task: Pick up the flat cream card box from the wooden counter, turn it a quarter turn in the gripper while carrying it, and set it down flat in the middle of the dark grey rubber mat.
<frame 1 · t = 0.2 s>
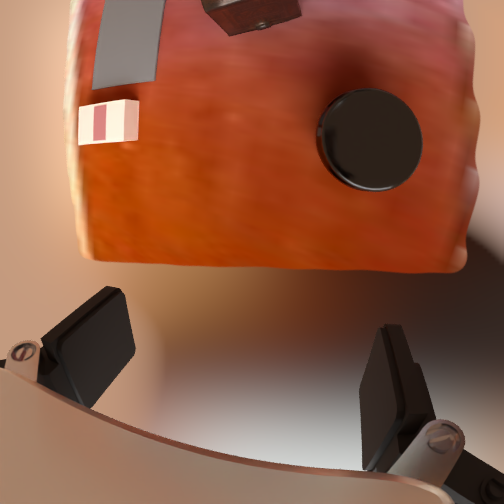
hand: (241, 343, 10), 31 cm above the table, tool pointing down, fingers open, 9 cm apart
supplement container: (357, 140, 35), on the table
mat: (128, 33, 35), on the table
card box: (115, 122, 41), on the table
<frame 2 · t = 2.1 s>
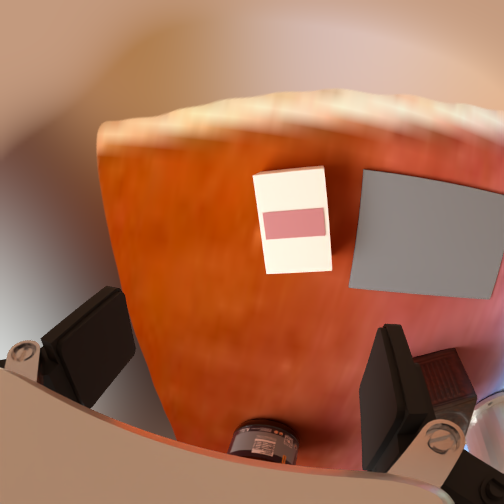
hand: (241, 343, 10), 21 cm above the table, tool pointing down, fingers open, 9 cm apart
supplement container: (267, 434, 42), on the table
mat: (438, 240, 27), on the table
card box: (297, 213, 30), on the table
vintage coffee grinder: (414, 395, 34), on the table
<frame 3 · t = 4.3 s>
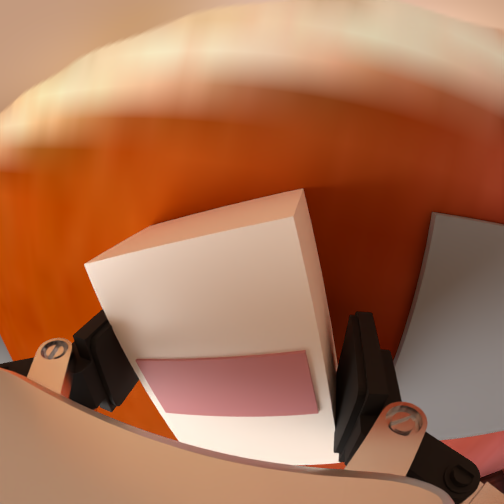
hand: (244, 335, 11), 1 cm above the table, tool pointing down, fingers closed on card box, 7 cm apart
card box: (252, 318, 12), on the table, touching gripper
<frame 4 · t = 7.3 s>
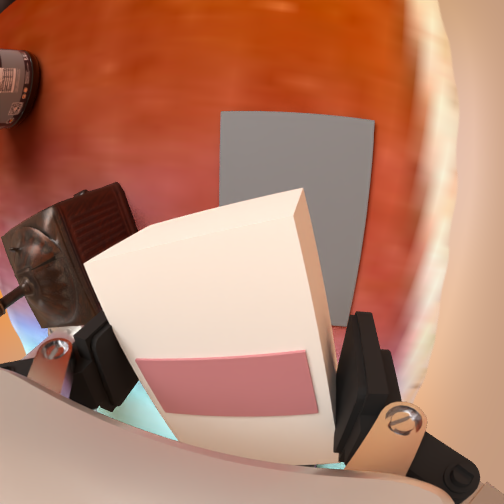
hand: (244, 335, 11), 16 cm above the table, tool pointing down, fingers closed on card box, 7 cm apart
supplement container: (21, 88, 26), on the table
mat: (291, 223, 25), on the table
card box: (252, 317, 12), point 14 cm above the table, touching gripper
vintage coffee grinder: (88, 243, 31), on the table
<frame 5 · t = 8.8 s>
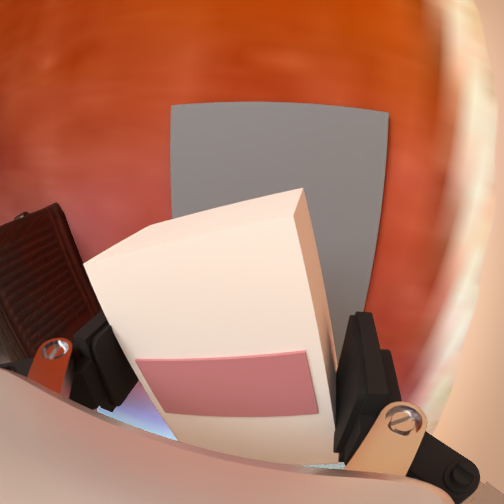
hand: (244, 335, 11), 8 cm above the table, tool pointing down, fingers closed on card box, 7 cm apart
mat: (270, 259, 18), on the table
card box: (252, 318, 12), point 7 cm above the table, touching gripper
vintage coffee grinder: (36, 273, 24), on the table
when the fingers open (3 cm above the table, at t = 10.3 s): card box drops 1 cm, resting on mat.
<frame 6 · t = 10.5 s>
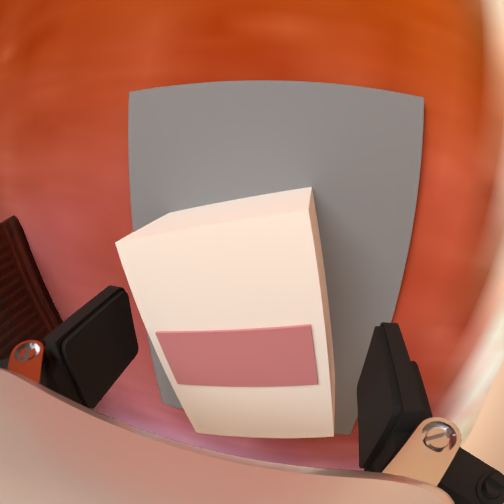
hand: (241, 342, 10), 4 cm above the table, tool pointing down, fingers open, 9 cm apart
mat: (260, 295, 14), on the table
card box: (258, 301, 13), resting on mat
vintage coffee grinder: (4, 291, 19), on the table
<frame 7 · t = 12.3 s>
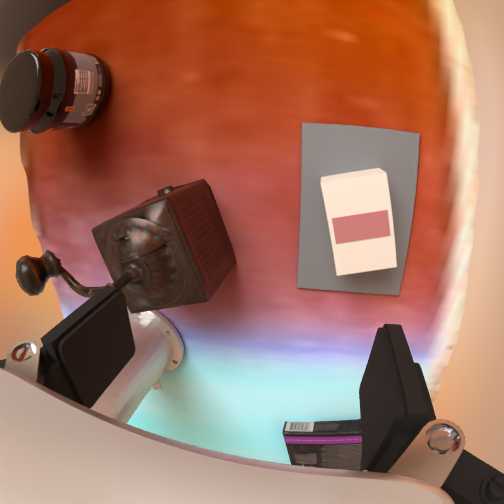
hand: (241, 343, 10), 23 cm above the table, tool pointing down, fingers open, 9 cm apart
box: (328, 446, 47), on the table
supplement container: (85, 90, 32), on the table
mat: (357, 213, 30), on the table
card box: (357, 215, 30), resting on mat
vintage coffee grinder: (168, 234, 37), on the table
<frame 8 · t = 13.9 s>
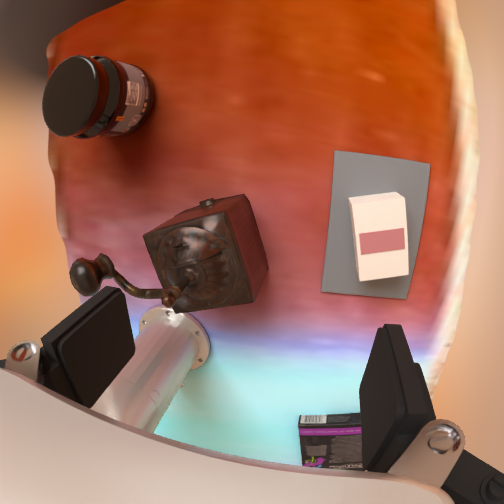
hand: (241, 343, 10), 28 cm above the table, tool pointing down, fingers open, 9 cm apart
box: (336, 439, 51), on the table
supplement container: (126, 100, 36), on the table
mat: (376, 229, 35), on the table
card box: (376, 230, 35), resting on mat
vintage coffee grinder: (204, 242, 41), on the table
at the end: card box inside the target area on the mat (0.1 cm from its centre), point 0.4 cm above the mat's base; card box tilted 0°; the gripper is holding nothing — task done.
